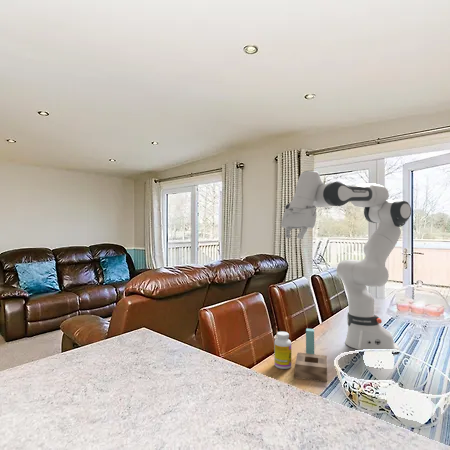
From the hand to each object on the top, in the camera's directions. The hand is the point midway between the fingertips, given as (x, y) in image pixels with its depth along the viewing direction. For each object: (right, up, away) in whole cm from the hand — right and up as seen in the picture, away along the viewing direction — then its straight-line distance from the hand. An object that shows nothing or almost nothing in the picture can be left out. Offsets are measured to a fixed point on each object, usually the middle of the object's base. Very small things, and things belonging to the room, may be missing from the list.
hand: (293, 238), depth 131 cm
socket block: (+4, -50, -13) cm, 52 cm away
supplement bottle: (-6, -50, -7) cm, 51 cm away
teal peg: (+7, -50, -1) cm, 51 cm away
